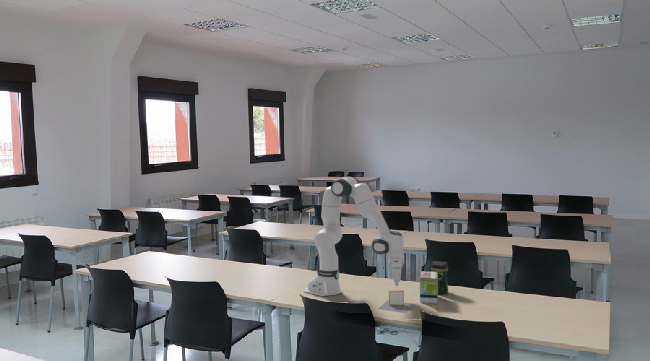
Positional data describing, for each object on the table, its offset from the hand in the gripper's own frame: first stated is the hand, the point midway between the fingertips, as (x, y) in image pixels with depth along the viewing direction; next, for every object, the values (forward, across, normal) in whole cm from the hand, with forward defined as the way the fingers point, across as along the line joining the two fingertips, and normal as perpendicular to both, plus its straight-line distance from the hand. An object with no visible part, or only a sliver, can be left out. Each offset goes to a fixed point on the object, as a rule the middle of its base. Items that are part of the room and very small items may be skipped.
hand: (396, 285), depth 289 cm
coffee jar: (+10, -21, +25) cm, 34 cm away
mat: (+10, +8, 0) cm, 13 cm away
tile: (+9, +6, 0) cm, 11 cm away
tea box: (+10, -7, +18) cm, 22 cm away
